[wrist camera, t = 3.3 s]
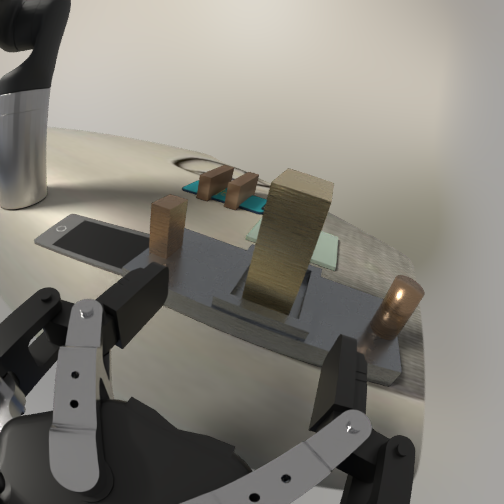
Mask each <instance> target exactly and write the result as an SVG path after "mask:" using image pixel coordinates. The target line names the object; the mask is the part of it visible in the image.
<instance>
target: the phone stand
mask: <svg viewBox="0 0 504 504" xmlns="http://www.w3.org/2000/svg"><path fill="white" fill-rule="evenodd" d="M233 171H234V168H233V167H230V166H226V165H223V166H221V167H218V168H216V169H213V170H211V171H208V172H206V173H203V174H201V175H200V178H199V184H198V191H197V197H196V198H199V199H202V200H205V201H208V200H210V199H211V197H212V196H214V195H216V194H217V193H219V192H221V191H222V190H224V189H226V188H227V193H226V198H225V203H224V207H227V208H230V209H233V210H236V209H237V208H239V205H240V204H242V203H243V202H244V201H245V200H247V199H248V198H249V197H251V196H252V195H254V194H255V190H256V185H257V181H258V177H259V175H258V174H255V173H251V172H248V173H246V174H244V175H242V176H240V177H238V178H237V179H235V180H233V181H231V180H232V175H233Z"/></svg>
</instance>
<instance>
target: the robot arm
mask: <svg viewBox="0 0 504 504" xmlns="http://www.w3.org/2000/svg"><path fill="white" fill-rule="evenodd" d="M70 6H71V0H0V48H2V49H3V50H5V51H7V52H19V51H25V50H30V49H33V51H32V53H31V55H30V56H29V57H28V58H27V59H26V60H25V61H24V62H23V63H22V64H21V65H20V66H18V67H17V68H15V69H14V70H12V71H11V72H9V73H7V74H6V75H4V76H3V77H2V78H1V80H0V206H1V207H2V208H5V209H18V208H23V207H27V206H30V205H33V204H35V203H37V202H39V201H41V200H42V199H44V198H45V197H46V195H47V177H46V138H47V118H48V105H49V96H50V87H51V81H52V76H53V72H54V68H55V64H56V59H57V54H58V50H59V46H60V43H61V39H62V36H63V33H64V30H65V27H66V24H67V20H68V17H69V12H70ZM168 285H169V268H168V267H166V266H164V265H161V264H159V263H157V262H151V263H150V264H149V265H148V266H146V267H145V268H144V269H143V268H141V267H140V268H137V269H135V270H132V271H130V272H129V273H127V274H126V275H125V276H124V277H123V278H121V279H120V280H119V281H118V282H117V283H115V284H114V285H113V286H111V287H110V288H109V289H108V290H107V291H105V292H104V293H103V294H102V295H100V296H99V297H98V298H97V299H96V300H93V299H83V300H80V301H78V302H77V303H75V304H74V303H71V302H67V301H64V300H61V298H60V294H59V292H58V291H57V290H56V289H54V288H43V289H40V290H39V291H37V292H36V293H35V294H34V295H32V296H31V297H30V298H29V299H28V300H26V301H25V302H24V303H23V304H22V305H21V306H19V307H18V308H17V309H16V310H15V311H14V312H13V313H12V314H10V315H9V316H8V317H7V318H6V319H5V320H4V321H3V322H2V323H1V324H0V504H290V503H291V502H293V501H294V500H296V499H297V498H299V497H300V496H302V495H303V494H304V493H306V492H307V491H308V490H310V489H311V488H312V487H314V486H315V485H317V484H318V483H319V482H321V481H322V480H323V479H324V478H326V477H327V476H328V475H329V474H330V473H331V472H332V470H333V469H334V468H335V467H336V468H338V469H339V470H341V471H343V472H345V473H347V474H348V476H347V480H346V484H345V488H344V491H343V495H342V499H341V502H340V504H410V498H411V491H412V483H413V474H414V463H415V447H414V445H413V443H412V441H411V440H410V439H409V438H407V437H405V436H402V435H397V436H394V437H392V438H391V439H389V438H387V437H385V436H383V435H382V434H380V433H378V432H376V431H375V430H374V429H372V425H371V422H370V420H369V418H368V417H367V416H366V397H367V384H366V383H367V365H368V364H367V361H366V359H365V356H364V354H362V353H359V352H357V339H355V338H352V337H349V336H346V335H343V334H340V335H339V336H338V338H337V340H336V341H335V343H334V345H333V346H332V348H331V349H330V351H329V353H328V354H327V356H326V358H325V360H324V362H323V365H322V368H321V373H320V379H319V384H318V389H317V394H316V399H315V404H314V408H313V413H312V417H311V422H310V426H309V431H313V432H316V434H314V435H313V436H312V437H310V438H309V439H307V440H306V441H303V442H301V443H299V444H298V445H296V446H295V447H293V448H292V449H290V450H289V451H287V452H285V453H284V454H282V455H281V456H279V457H277V458H276V459H274V460H272V461H271V462H269V463H267V464H265V465H264V466H262V467H260V468H258V469H257V470H255V471H252V470H251V468H250V467H249V466H248V464H247V463H246V462H245V461H244V460H243V459H241V458H240V457H239V456H238V455H236V454H235V453H233V451H234V449H235V446H232V445H230V444H227V443H225V442H222V441H220V440H217V439H215V438H212V437H210V436H207V435H202V434H197V433H192V432H187V431H183V430H179V429H177V428H175V427H174V426H173V425H172V424H170V423H169V422H168V421H167V420H166V419H165V418H163V417H162V416H161V415H160V414H159V413H158V412H157V411H155V410H154V409H152V408H150V407H149V406H147V405H145V404H143V403H142V402H140V401H138V400H137V399H135V398H133V397H131V398H130V399H129V401H128V402H126V401H122V400H115V399H114V395H113V390H112V374H111V348H112V347H113V346H114V345H116V346H118V347H120V348H121V349H123V348H124V347H125V346H126V345H127V344H128V343H129V342H130V341H131V340H132V338H133V337H134V336H135V335H136V334H137V333H138V332H139V331H140V330H141V329H142V328H143V326H144V325H145V324H146V323H147V322H148V321H149V320H150V319H151V318H152V317H153V316H154V315H155V313H156V312H157V311H158V310H159V309H160V308H161V307H162V306H163V305H164V303H165V301H166V299H167V296H168ZM42 328H43V330H44V332H43V333H42V334H41V335H40V336H39V337H38V338H37V339H36V340H35V341H34V342H33V343H32V344H31V345H30V346H29V347H28V345H29V342H30V340H31V339H32V338H33V337H34V336H35V335H36V334H37V333H38V332H39V331H40V330H41V329H42ZM56 361H57V369H56V378H55V388H54V389H55V390H54V403H53V411H48V412H43V413H37V414H31V415H24V416H21V415H23V414H24V413H25V403H26V400H25V397H26V396H27V395H28V393H29V392H30V391H31V390H32V389H33V387H34V386H35V385H36V384H37V383H38V381H39V380H40V379H41V378H42V377H43V376H44V375H45V373H46V372H47V371H48V370H49V369H50V368H51V367H52V365H53V364H54V363H55V362H56Z"/></svg>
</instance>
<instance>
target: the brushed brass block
mask: <svg viewBox="0 0 504 504" xmlns="http://www.w3.org/2000/svg"><path fill="white" fill-rule="evenodd" d="M333 187H334V183H332V182H329V181H326V180H323V179H320V178H317V177H314V176H311V175H308V174H305V173H302V172H299V171H296V170H293V169H289V168H288V169H287V170H286V171H284V172H283V173H282V174H281V175H280V176H278V177H277V178H276V179H275V180H273V181H272V183H271V186H270V190H269V194H268V197H267V201H266V205H265V209H264V213H263V217H262V221H261V225H260V229H259V232H258V236H257V240H256V244H255V248H254V252H253V256H252V260H251V263H250V267H249V271H248V275H247V279H246V283H245V287H244V291H243V294H242V298H243V299H245V300H248V301H250V302H253V303H256V304H258V305H261V306H264V307H266V308H269V309H272V310H274V311H277V312H280V313H283V314H285V315H288V316H289V313H290V311H291V309H292V306H293V304H294V301H295V299H296V296H297V294H298V291H299V289H300V286H301V284H302V281H303V279H304V276H305V273H306V271H307V268H308V266H309V263H310V260H311V258H312V255H313V252H314V250H315V247H316V244H317V241H318V239H319V236H320V233H321V230H322V228H323V225H324V222H325V219H326V216H327V213H328V211H329V207H330V205H331V201H332V194H333Z"/></svg>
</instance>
